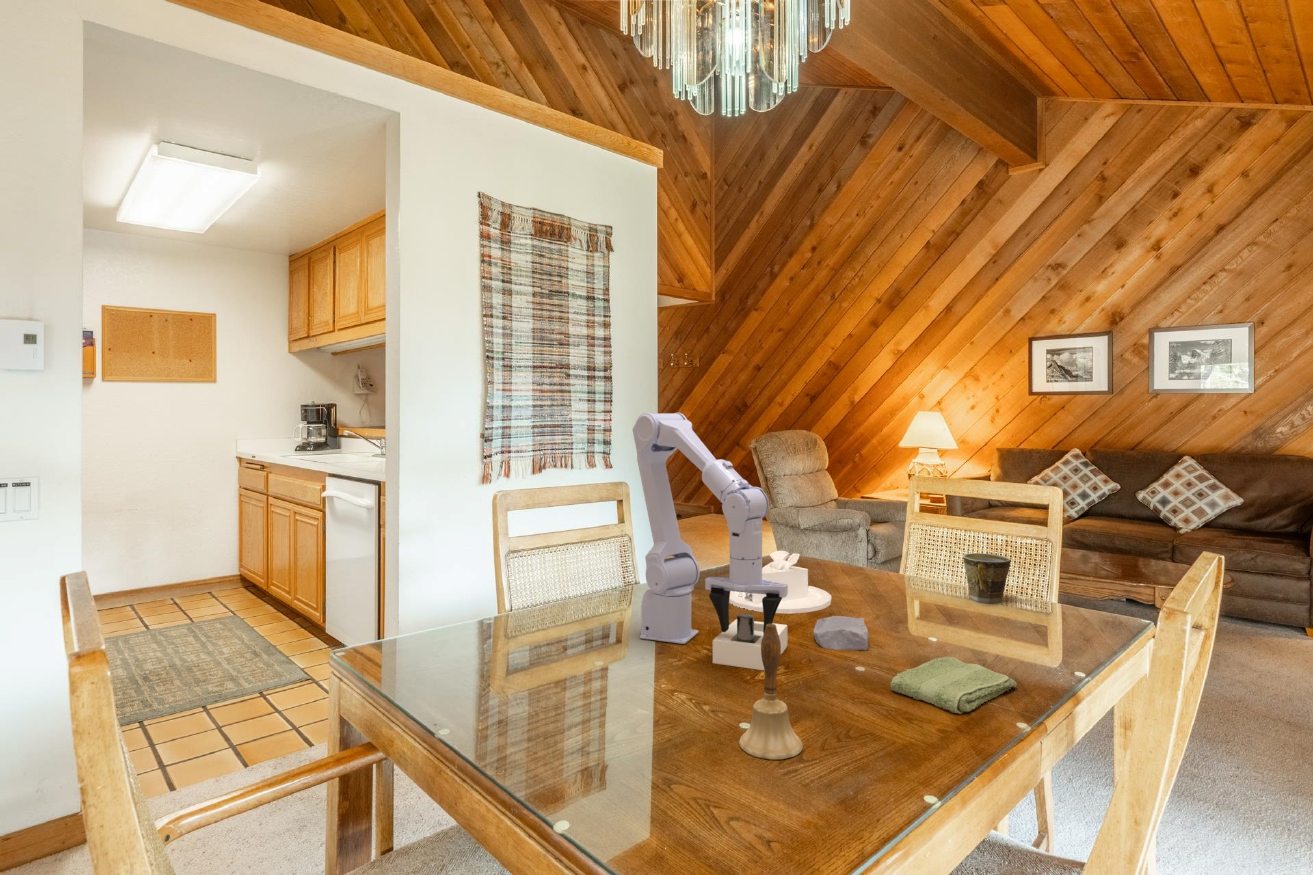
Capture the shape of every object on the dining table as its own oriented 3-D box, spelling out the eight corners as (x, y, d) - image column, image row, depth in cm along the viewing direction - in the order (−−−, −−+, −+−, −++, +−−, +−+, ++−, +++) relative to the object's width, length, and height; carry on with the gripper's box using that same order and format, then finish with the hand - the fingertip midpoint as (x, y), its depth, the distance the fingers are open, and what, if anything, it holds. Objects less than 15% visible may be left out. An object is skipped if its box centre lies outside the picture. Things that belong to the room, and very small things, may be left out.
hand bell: (733, 732, 97) (733, 617, 96) (792, 729, 97) (792, 615, 97) (746, 761, 88) (746, 636, 88) (810, 758, 89) (811, 634, 88)
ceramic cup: (968, 592, 171) (968, 551, 171) (1013, 598, 165) (1014, 556, 165) (955, 604, 161) (955, 560, 160) (1003, 611, 155) (1004, 566, 155)
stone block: (818, 659, 131) (873, 651, 129) (813, 633, 131) (868, 625, 129) (816, 641, 142) (866, 633, 141) (811, 617, 143) (861, 610, 141)
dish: (767, 582, 184) (767, 539, 184) (852, 600, 166) (852, 552, 165) (703, 599, 167) (703, 552, 167) (789, 621, 149) (789, 569, 149)
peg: (734, 662, 124) (734, 617, 124) (740, 656, 126) (740, 612, 126) (751, 664, 123) (751, 619, 122) (756, 659, 125) (756, 614, 125)
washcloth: (1020, 690, 112) (1021, 670, 111) (962, 721, 101) (962, 698, 101) (943, 667, 122) (943, 649, 122) (883, 692, 111) (883, 672, 111)
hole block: (712, 662, 123) (712, 640, 123) (736, 639, 136) (736, 618, 136) (768, 670, 119) (768, 647, 119) (787, 645, 132) (787, 624, 132)
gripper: (699, 557, 123) (699, 634, 124) (781, 564, 117) (780, 644, 118) (712, 550, 130) (712, 623, 130) (790, 556, 124) (790, 632, 124)
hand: (745, 632), depth 124 cm, fingers open, 7 cm apart
